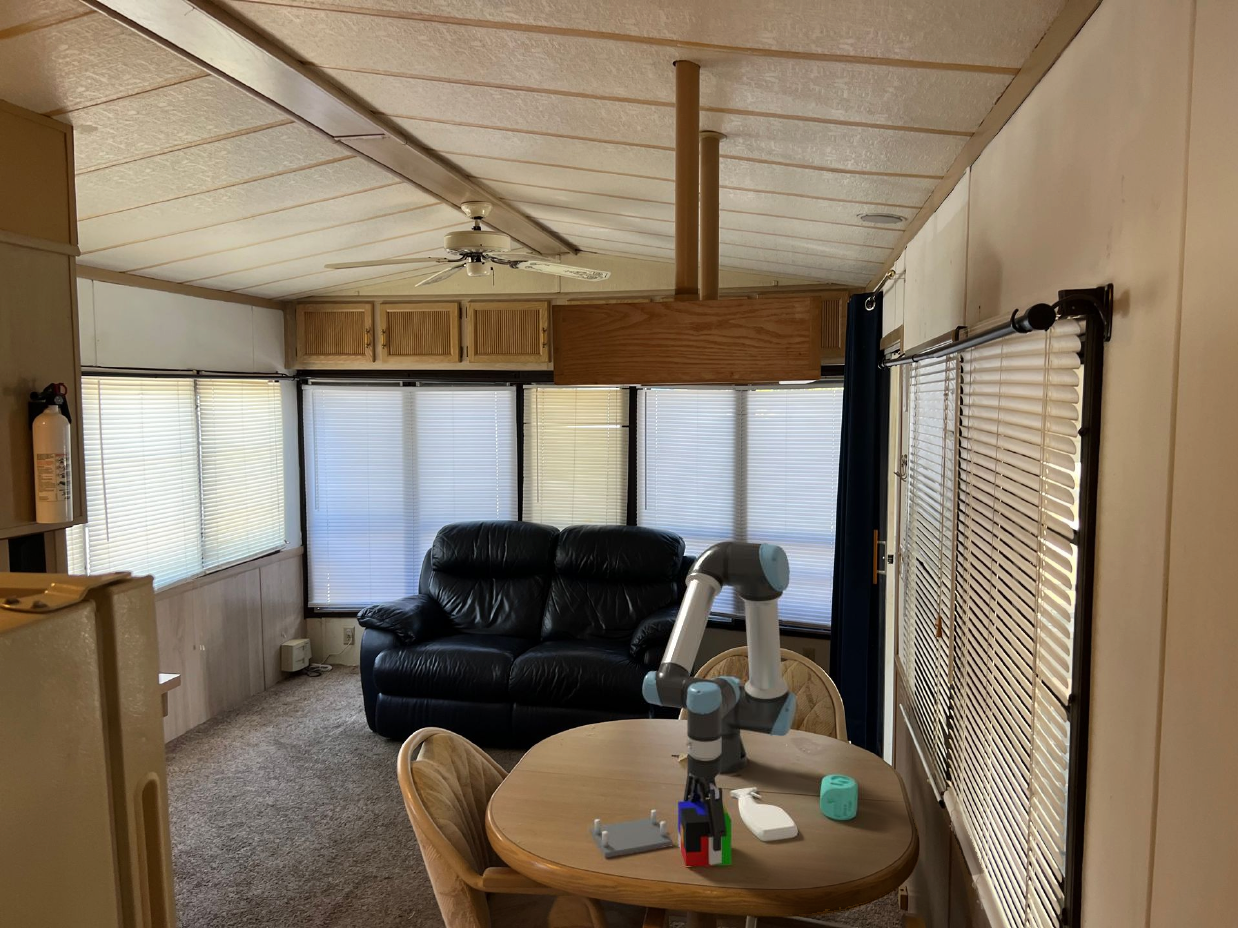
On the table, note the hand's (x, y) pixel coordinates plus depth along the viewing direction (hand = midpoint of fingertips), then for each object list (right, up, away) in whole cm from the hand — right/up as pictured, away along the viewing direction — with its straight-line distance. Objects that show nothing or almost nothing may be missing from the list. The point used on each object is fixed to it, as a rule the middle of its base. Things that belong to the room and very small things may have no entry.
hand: (704, 849), depth 193 cm
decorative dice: (+35, +1, +19) cm, 40 cm away
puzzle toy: (0, -1, 0) cm, 1 cm away
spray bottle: (+15, 0, +18) cm, 24 cm away
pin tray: (-16, 0, +7) cm, 18 cm away
